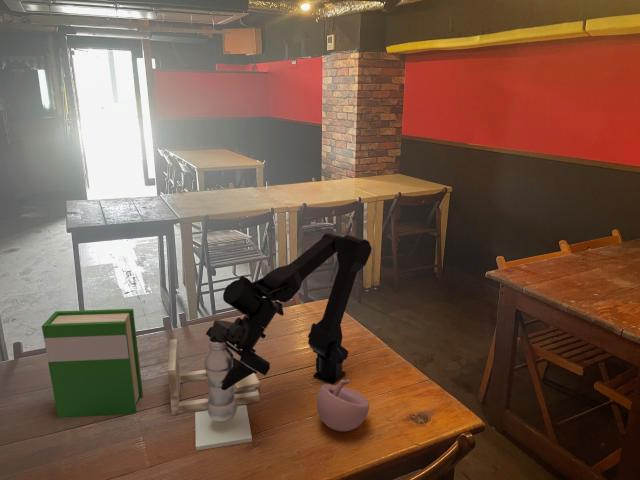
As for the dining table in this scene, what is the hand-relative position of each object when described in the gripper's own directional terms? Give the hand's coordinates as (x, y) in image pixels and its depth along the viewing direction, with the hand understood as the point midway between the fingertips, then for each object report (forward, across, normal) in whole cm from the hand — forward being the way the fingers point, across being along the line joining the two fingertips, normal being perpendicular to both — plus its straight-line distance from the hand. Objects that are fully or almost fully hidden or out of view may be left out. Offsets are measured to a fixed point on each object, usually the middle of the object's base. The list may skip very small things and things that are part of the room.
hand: (215, 383), depth 107 cm
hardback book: (+21, -26, -3) cm, 34 cm away
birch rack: (+4, -14, +14) cm, 20 cm away
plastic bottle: (+6, 0, +8) cm, 10 cm away
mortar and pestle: (-7, +17, +25) cm, 31 cm away
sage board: (+8, 0, +10) cm, 13 cm away
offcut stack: (0, -11, +19) cm, 22 cm away
